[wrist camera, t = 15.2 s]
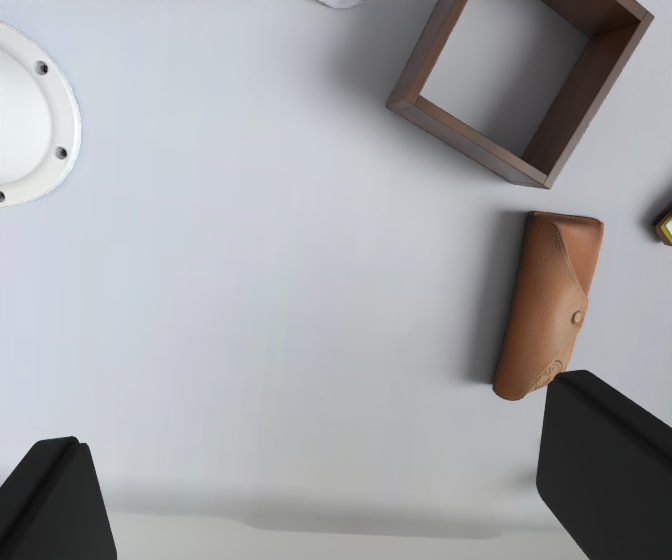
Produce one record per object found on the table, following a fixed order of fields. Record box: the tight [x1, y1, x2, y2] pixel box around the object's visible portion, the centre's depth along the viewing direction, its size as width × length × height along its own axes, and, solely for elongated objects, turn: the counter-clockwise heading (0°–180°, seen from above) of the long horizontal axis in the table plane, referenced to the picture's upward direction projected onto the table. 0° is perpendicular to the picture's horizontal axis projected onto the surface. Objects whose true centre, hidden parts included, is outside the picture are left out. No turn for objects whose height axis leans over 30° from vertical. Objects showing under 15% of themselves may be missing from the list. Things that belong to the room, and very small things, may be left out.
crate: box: [385, 0, 654, 189], centre depth 32 cm, size 14×14×5 cm
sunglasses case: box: [493, 211, 604, 401], centre depth 40 cm, size 18×7×7 cm
